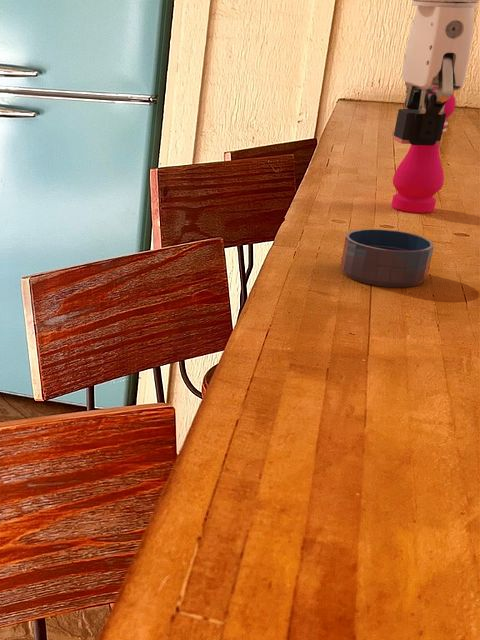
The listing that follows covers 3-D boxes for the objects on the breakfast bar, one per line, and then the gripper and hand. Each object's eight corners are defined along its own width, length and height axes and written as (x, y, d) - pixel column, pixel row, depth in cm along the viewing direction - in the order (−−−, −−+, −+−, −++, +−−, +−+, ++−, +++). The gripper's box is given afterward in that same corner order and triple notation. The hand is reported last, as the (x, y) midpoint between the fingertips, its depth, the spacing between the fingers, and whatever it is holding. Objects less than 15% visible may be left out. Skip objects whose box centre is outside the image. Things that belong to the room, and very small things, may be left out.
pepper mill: (437, 206, 141) (465, 75, 133) (437, 216, 135) (466, 79, 127) (388, 201, 144) (413, 72, 136) (386, 210, 138) (412, 77, 130)
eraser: (430, 140, 120) (436, 110, 118) (439, 144, 117) (446, 113, 115) (392, 139, 120) (398, 108, 119) (401, 143, 117) (407, 112, 116)
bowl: (410, 265, 112) (417, 230, 110) (438, 290, 103) (446, 253, 101) (331, 262, 113) (336, 227, 111) (351, 286, 104) (358, 249, 102)
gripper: (506, -4, 103) (470, 154, 111) (451, -7, 118) (422, 132, 126) (440, -5, 104) (409, 153, 111) (394, -8, 119) (368, 131, 126)
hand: (416, 140), depth 119 cm, fingers closed on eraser, 3 cm apart
